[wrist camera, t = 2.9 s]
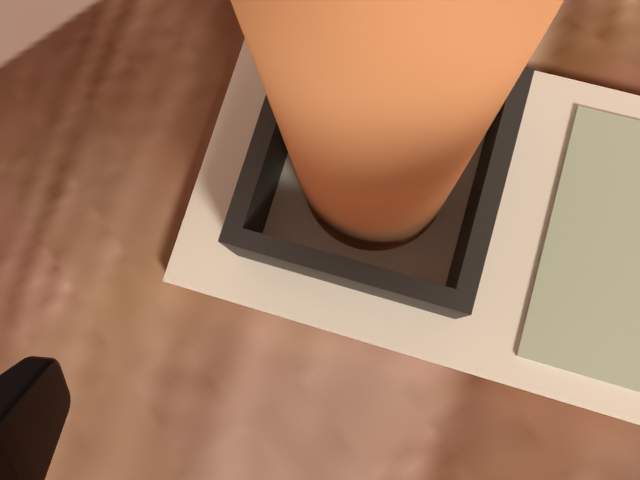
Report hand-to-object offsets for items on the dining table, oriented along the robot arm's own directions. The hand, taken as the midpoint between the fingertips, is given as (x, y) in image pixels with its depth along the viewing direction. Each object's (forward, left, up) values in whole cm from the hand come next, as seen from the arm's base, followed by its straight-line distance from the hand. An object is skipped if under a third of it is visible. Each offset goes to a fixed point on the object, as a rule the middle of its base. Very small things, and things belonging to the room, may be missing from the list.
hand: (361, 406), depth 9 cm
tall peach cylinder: (+6, +3, -12) cm, 13 cm away
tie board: (+7, -2, -13) cm, 15 cm away
